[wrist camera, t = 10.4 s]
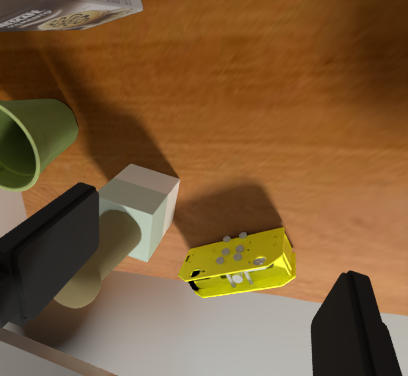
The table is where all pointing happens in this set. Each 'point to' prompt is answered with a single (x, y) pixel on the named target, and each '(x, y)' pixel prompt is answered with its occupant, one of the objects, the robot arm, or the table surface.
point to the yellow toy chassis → (240, 264)
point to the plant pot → (32, 139)
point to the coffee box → (62, 13)
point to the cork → (102, 258)
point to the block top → (137, 212)
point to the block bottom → (154, 186)
